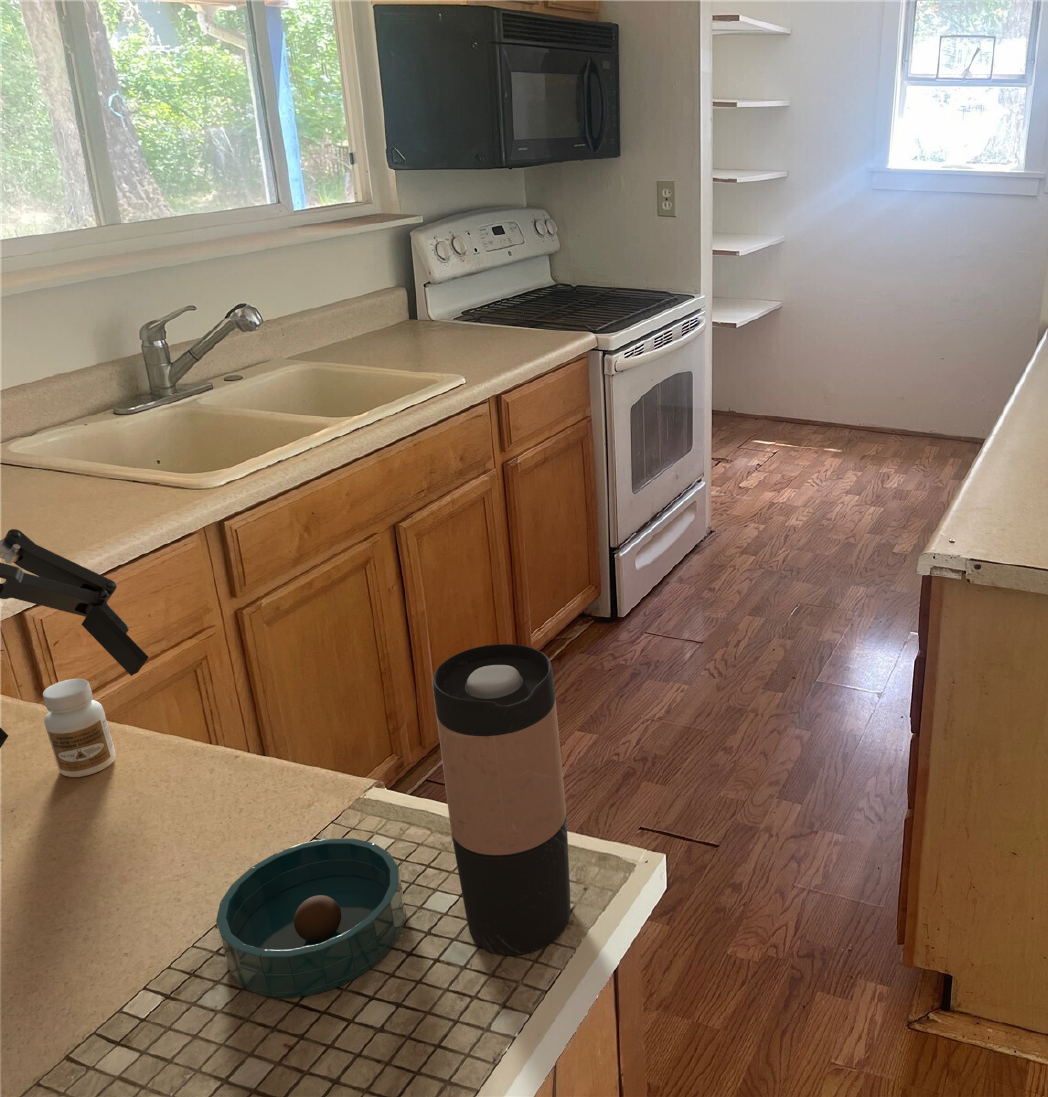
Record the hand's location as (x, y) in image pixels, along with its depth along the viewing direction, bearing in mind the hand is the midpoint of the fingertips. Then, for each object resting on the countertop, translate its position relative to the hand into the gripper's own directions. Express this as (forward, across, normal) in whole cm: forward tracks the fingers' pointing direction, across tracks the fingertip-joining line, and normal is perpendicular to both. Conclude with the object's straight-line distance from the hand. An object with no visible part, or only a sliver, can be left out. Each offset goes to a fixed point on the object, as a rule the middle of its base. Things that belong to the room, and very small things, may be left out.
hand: (74, 704), depth 88 cm
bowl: (+28, +10, +19) cm, 35 cm away
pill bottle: (+4, 0, -5) cm, 6 cm away
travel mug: (+37, +4, +28) cm, 46 cm away
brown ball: (+27, +11, +21) cm, 36 cm away
